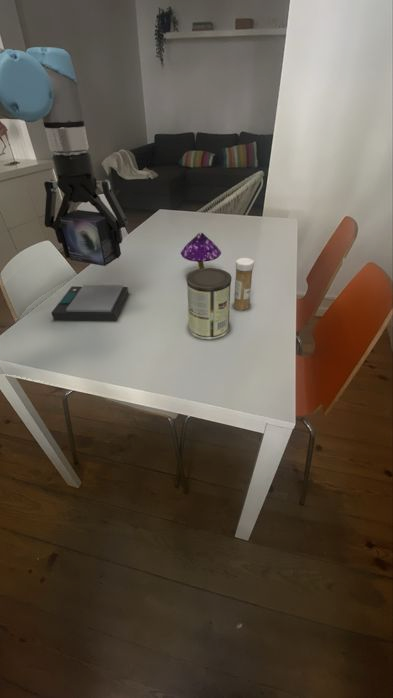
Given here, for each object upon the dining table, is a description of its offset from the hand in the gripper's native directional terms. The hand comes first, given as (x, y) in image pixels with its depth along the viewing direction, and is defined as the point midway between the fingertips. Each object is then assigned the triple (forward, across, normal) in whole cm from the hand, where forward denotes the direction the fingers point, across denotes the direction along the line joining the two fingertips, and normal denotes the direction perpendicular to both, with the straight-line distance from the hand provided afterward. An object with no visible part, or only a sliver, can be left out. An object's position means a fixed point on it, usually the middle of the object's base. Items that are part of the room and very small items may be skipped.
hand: (93, 256), depth 78 cm
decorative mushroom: (+16, -25, -21) cm, 37 cm away
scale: (+16, +5, -3) cm, 17 cm away
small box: (+1, 0, 0) cm, 1 cm away
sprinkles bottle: (+16, -37, -4) cm, 41 cm away
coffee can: (+16, -28, +7) cm, 33 cm away
